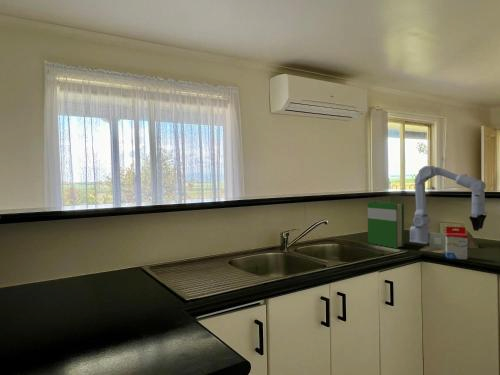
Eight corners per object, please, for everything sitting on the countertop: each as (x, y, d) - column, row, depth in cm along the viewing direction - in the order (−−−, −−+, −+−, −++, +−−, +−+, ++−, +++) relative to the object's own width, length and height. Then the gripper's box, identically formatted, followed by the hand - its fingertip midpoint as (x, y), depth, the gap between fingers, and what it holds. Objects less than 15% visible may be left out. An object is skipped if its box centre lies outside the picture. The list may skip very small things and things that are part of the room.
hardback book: (404, 247, 194) (404, 203, 193) (396, 249, 189) (396, 204, 188) (375, 242, 208) (375, 201, 207) (368, 244, 204) (367, 202, 202)
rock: (483, 243, 188) (464, 237, 197) (480, 231, 184) (461, 226, 193) (472, 257, 185) (453, 251, 193) (469, 246, 181) (450, 240, 190)
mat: (418, 250, 185) (418, 249, 185) (426, 246, 194) (426, 246, 194) (445, 254, 176) (445, 253, 176) (452, 249, 185) (452, 249, 185)
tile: (429, 247, 190) (429, 232, 189) (430, 247, 191) (430, 232, 191) (445, 249, 184) (445, 234, 184) (446, 249, 185) (446, 233, 185)
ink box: (446, 258, 167) (446, 227, 166) (445, 256, 172) (445, 226, 171) (467, 260, 164) (467, 228, 163) (465, 257, 169) (465, 227, 168)
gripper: (484, 205, 177) (483, 232, 177) (490, 202, 187) (490, 228, 188) (467, 204, 182) (467, 230, 182) (474, 202, 192) (474, 227, 193)
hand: (477, 229), depth 185 cm, fingers open, 7 cm apart
